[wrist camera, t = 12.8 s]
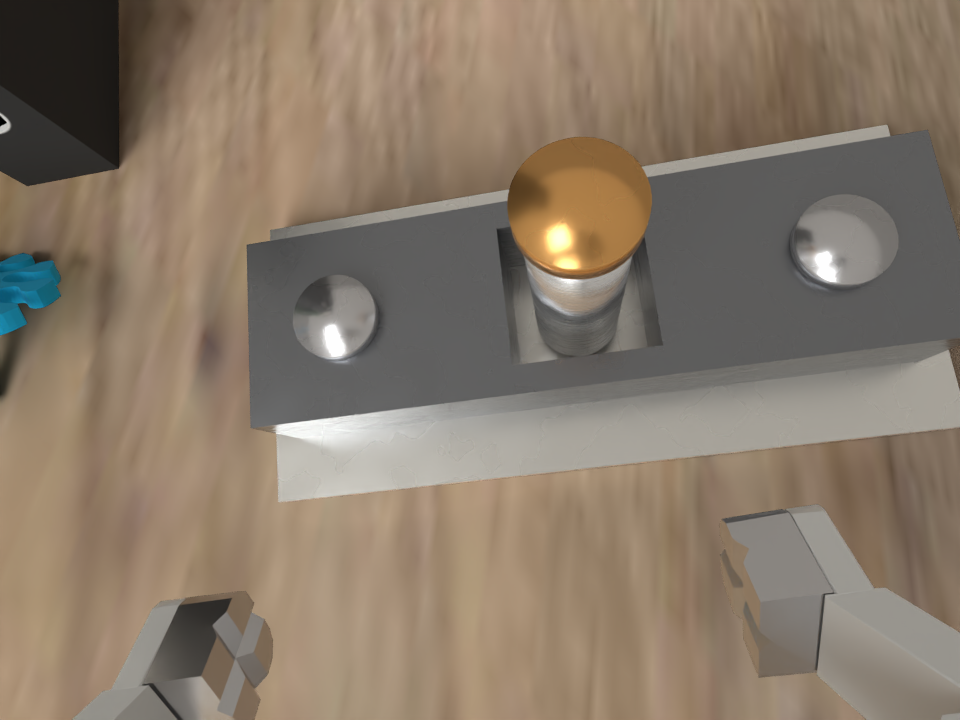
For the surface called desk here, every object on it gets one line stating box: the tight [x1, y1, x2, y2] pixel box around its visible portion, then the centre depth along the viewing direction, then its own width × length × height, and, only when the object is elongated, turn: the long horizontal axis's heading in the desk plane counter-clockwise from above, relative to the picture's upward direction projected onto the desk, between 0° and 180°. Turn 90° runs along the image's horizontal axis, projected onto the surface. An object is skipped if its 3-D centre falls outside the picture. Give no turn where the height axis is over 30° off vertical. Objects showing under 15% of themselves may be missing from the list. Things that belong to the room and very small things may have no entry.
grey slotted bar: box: [247, 125, 960, 502], centre depth 24 cm, size 26×12×6 cm, turn 96°
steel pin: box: [507, 137, 652, 356], centre depth 21 cm, size 4×4×10 cm
